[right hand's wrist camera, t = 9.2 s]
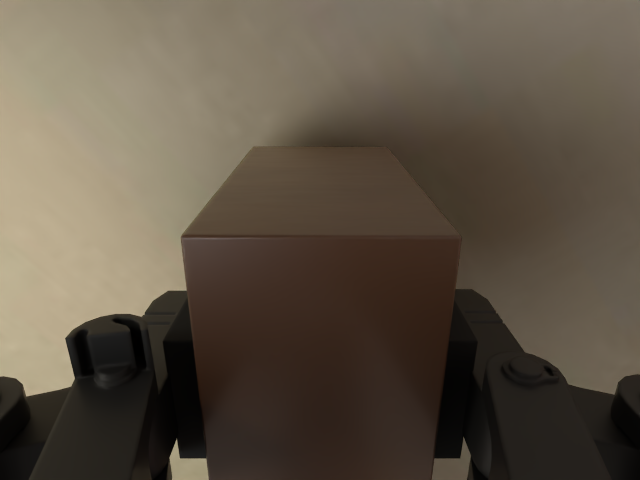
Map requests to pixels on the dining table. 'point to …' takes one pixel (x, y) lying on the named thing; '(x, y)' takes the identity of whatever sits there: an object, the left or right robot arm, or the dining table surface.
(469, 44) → the dining table surface
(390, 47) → the dining table surface
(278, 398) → the walnut beam
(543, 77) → the dining table surface
